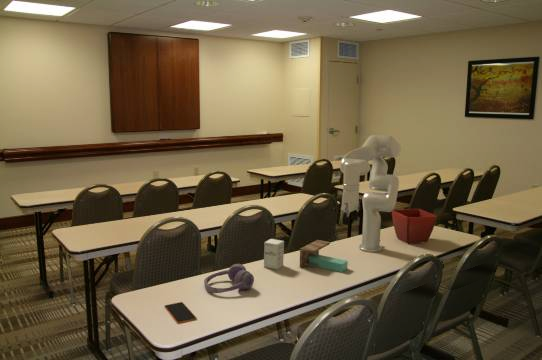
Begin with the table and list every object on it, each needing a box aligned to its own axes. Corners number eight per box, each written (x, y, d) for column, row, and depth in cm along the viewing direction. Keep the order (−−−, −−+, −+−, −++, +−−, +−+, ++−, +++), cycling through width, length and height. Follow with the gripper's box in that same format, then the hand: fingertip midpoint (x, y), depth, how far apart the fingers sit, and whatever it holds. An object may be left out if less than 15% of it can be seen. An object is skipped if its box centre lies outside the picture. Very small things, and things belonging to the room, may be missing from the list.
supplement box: (263, 267, 223) (263, 242, 221) (270, 262, 230) (270, 238, 228) (277, 270, 220) (277, 244, 218) (283, 265, 226) (284, 240, 224)
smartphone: (182, 303, 182) (182, 301, 182) (197, 320, 168) (197, 318, 168) (163, 307, 178) (163, 305, 178) (177, 325, 164) (177, 322, 164)
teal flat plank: (314, 261, 233) (314, 253, 232) (347, 268, 223) (347, 260, 223) (308, 264, 228) (308, 256, 227) (342, 272, 218) (342, 264, 218)
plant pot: (435, 244, 266) (438, 215, 263) (406, 246, 261) (408, 217, 258) (417, 235, 284) (419, 208, 282) (389, 237, 279) (390, 209, 277)
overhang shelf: (316, 257, 239) (317, 239, 237) (329, 260, 235) (329, 242, 233) (299, 267, 224) (300, 248, 222) (312, 270, 220) (313, 251, 219)
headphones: (244, 275, 211) (201, 287, 204) (241, 258, 209) (198, 270, 202) (258, 290, 194) (212, 304, 187) (255, 272, 192) (209, 285, 185)
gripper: (351, 183, 229) (350, 216, 233) (335, 189, 216) (334, 225, 219) (365, 185, 225) (364, 219, 229) (350, 191, 211) (349, 227, 215)
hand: (350, 222), depth 224 cm, fingers open, 9 cm apart
